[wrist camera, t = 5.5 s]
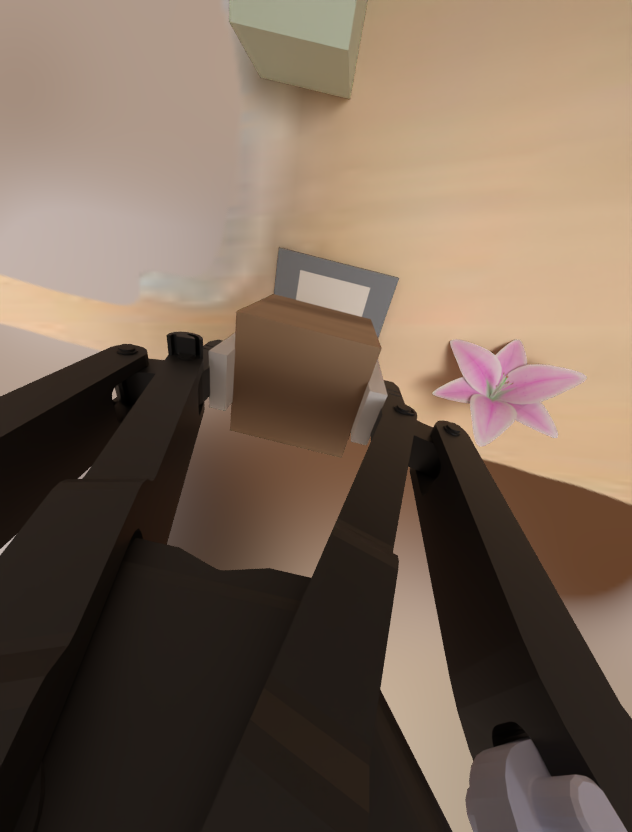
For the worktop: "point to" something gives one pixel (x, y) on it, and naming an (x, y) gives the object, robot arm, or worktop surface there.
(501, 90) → the worktop surface
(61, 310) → the worktop surface
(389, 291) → the slate build plate
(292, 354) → the walnut block
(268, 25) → the sage block
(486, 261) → the worktop surface
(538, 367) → the lily
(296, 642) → the robot arm
